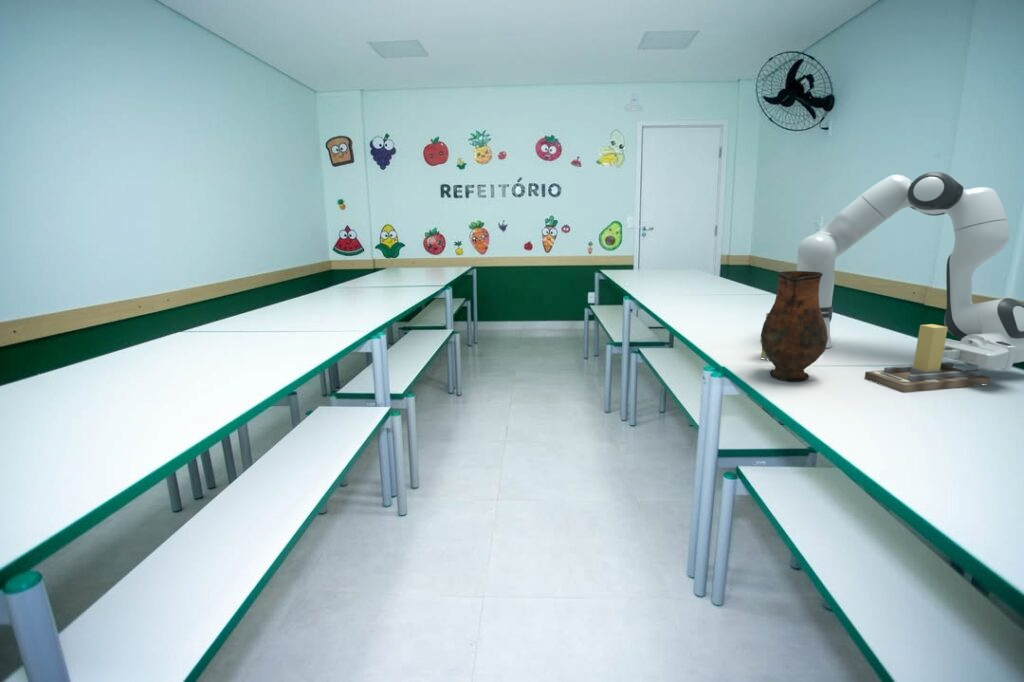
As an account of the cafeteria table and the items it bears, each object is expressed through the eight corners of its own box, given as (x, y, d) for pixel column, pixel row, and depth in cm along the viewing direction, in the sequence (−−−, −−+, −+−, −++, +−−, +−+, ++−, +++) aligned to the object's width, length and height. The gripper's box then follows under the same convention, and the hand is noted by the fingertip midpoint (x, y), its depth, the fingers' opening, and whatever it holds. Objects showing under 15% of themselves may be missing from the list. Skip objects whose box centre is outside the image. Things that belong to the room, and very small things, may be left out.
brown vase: (750, 378, 142) (759, 274, 135) (768, 361, 158) (777, 267, 151) (816, 389, 132) (830, 276, 125) (829, 370, 148) (842, 269, 141)
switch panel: (944, 371, 143) (946, 360, 142) (988, 384, 132) (991, 372, 131) (864, 378, 140) (866, 366, 139) (903, 392, 128) (905, 379, 127)
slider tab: (925, 371, 138) (933, 323, 134) (941, 376, 133) (950, 327, 130) (909, 372, 137) (917, 324, 134) (925, 377, 133) (933, 328, 130)
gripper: (943, 330, 145) (902, 333, 143) (1023, 347, 126) (976, 351, 124) (939, 351, 147) (898, 354, 145) (1017, 371, 127) (971, 375, 125)
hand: (935, 353), depth 134 cm, fingers closed, pressing on slider tab
